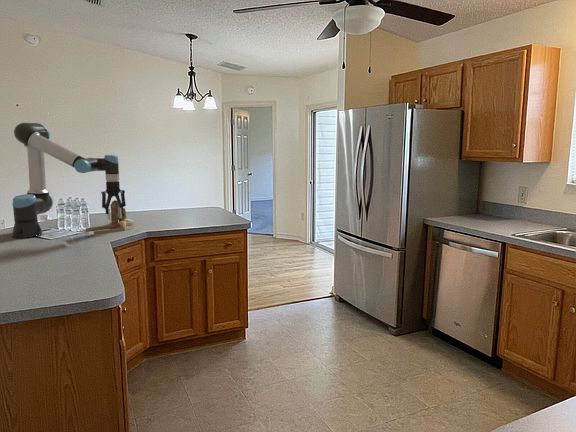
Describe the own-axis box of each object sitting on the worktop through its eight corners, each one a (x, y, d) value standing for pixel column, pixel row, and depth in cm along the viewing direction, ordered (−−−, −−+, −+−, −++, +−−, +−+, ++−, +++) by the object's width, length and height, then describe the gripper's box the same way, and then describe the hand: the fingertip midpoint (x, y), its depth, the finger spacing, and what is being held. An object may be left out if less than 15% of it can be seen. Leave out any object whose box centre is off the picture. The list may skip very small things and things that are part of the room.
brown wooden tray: (95, 238, 254) (95, 227, 253) (84, 233, 266) (84, 222, 265) (137, 232, 271) (136, 221, 270) (125, 227, 283) (124, 217, 282)
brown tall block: (114, 230, 266) (113, 205, 263) (109, 228, 271) (108, 203, 268) (120, 229, 269) (119, 204, 266) (116, 228, 274) (114, 203, 271)
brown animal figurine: (109, 228, 282) (107, 200, 279) (116, 223, 295) (115, 197, 292) (123, 228, 282) (121, 200, 279) (130, 224, 295) (128, 197, 292)
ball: (127, 220, 272) (128, 228, 273) (123, 219, 275) (125, 227, 277) (119, 222, 268) (120, 230, 270) (115, 221, 272) (117, 229, 273)
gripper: (98, 182, 255) (101, 221, 259) (130, 180, 268) (132, 217, 273) (93, 181, 260) (96, 219, 265) (125, 179, 274) (127, 216, 278)
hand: (114, 218), depth 269 cm, fingers open, 6 cm apart
